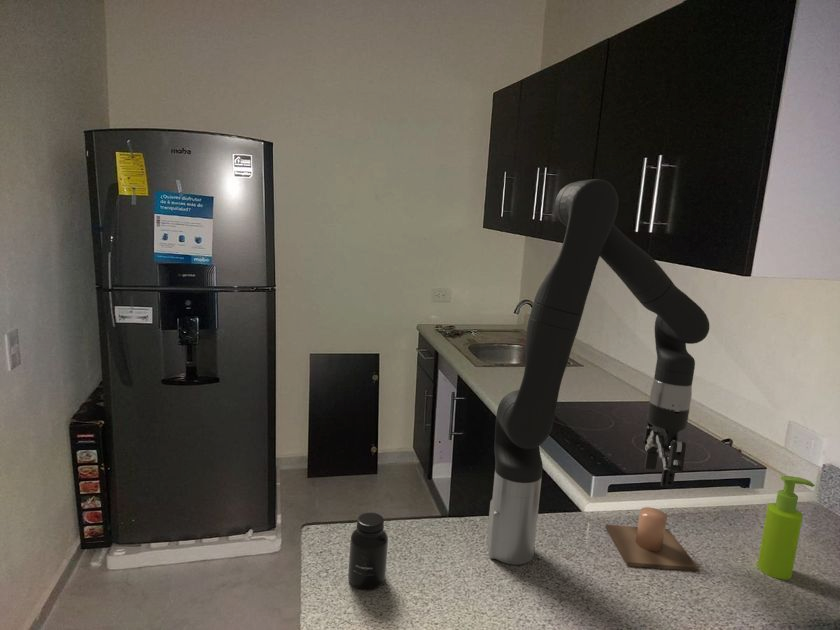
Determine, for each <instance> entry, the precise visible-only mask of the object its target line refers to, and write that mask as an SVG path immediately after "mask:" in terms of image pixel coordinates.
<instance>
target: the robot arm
mask: <svg viewBox="0 0 840 630" xmlns="http://www.w3.org/2000/svg"><path fill="white" fill-rule="evenodd" d="M554 203H555V204H554V208H555V213H556V216H557V219H558V220H559V221H560V222H561V224H562V225H564V226H565V227H566V229H565V236H564V238H563V242H562V245H561V248H560V251H559V254H558V256H557V258H556V260H555V261H554V263H553V264H552V266H551V268H550V270H549V271H548V273H547V274H546V276H545V277H544V279H543V281H542V282H541V284H540V286H539V287H538V290H537V292H536V293H535V297H534V299H533V303H532V307H531V311H530V314H529V318H528V321H527V326H526V335H525V357H524V358H525V362H524V365H525V366H524V370H523V371H524V372H523V376H522V381H521V383H520V386H519V389H518V390H513V391H511V392H508V393H507V394H506V395H504V397H502V399H501V400H500V401H499V403H498V407H497V410H496V417H495V428H494V429H495V430H494V444H493V445H494V446H493V447H494V451H493V452H494V459H495V460H494V463H495V466H494V478H493V488H492V498H491V500H490V502H489V503H490V504H489V512H488V525H487V536H486V544H487V550H488V556H489V558H490V559H492V560H493V559H494V560H497V561H499V562H501V563H504V564H508V565H513V566H514V565H524V564H528V563H529V562H531V561H532V560H533V559H534V554H535V549H536V548H535V547H536V546H535V545H536V537H537V536H536V535H537V527H538V526H537V525H538V524H537V523H538V516H539V506H540V505H539V504H540V496H541V486H542V479H543V478H542V477H543V469H544V468H543V466H544V464H543V459H542V456H541V450H540V446H541V445H542V444H544V442H545V441H546V440H547V439H548V437H549V436H550V434H551V432H552V429H553V426H554V420H555V415H556V409H557V405H558V400H559V399H558V398H559V393H560V389H561V384H562V380H563V377H564V373H565V371H566V368H567V364H568V361H569V359H570V355H571V352H572V349H573V346H574V342H575V339H576V336H577V334H578V330H579V327H580V323H581V320H582V317H583V314H584V310H585V305H586V303H587V302H586V301H587V298H588V294H589V293H590V289H591V285H592V283H593V279H594V275H595V272H596V268H597V265H598V262H599V259H600V258H601V259H602V260H603V262H605V264H606V265H607V266H608V267H609V268H610V269H611V270H612V271H613V272H614V273H615V275H617V277H618V278H619V279H620V280H621V281H622V283H623V284H624V285H625V286H626V287H627V288H628V290H629V291H630V293H632V295H633V296H634V297H635V298H636V299H637V301H638V302H639V303H640V304H641V305H642V306H643V307H644V308H645V309H647V310H648V311H650V312H652V313H654V314H655V315H656V317H655V322H654V342H655V351H656V364H655V370H654V376H653V382H652V385H651V388H650V394H649V400H648V408H647V409H648V410H647V414H646V419H645V426H644V431H643V437H642V445H644V446H645V448H644V449H645V452H646V453H645V460H644V468H645V469H647V470H655V469H657V463H658V455H659V458H660V459H661V460H662V465H663V467H662V473H661V478H660V486H661V487H662V488H664V489H672V488H674V482H675V476H676V475H675V474H676V472H680V473H683V471H684V463H685V457H686V456H685V455H686V449H687V448H686V447H687V444H686V443H687V442H685V441H681V440H679V432H681V431H683V430H686V429H687V428H688V427H687V426H688V422H689V414H690V408H691V401H692V394H693V393H692V391H693V390H692V389H693V388H692V387H693V380H694V373H695V367H696V361H695V358H694V357H693V356H692V355H691V354H690V353H689V351H688V349H687V345H688V344H689V345H694V344H698V343H700V342H702V341H703V340H705V339H706V338H707V337H708V334H709V331H710V320H709V318H708V315H707V314H706V312H705V311H704V310H703V309H702V307H701V306H700V305H698V303H696V302H695V301H694V300H693V299H692V298H691V297H689V296H688V295H687V294H686V293H685V292H683V291H682V290H681V289H680V288H678V287H677V285H676V284H674V282H673V281H672V279H671V278H670V277H669V276H668V273H666V272H665V270H663V268H662V267H661V266H660V264H659V263H657V261H655V259H654V258H653V257H652V256H651V255H650V254H648V253H647V252H646V251H645V250H643V249H642V248H641V247H640V246H639V245H637V244H635V243H634V241H632V240H631V239H630V238H628V237H627V236H626V235H625V234H624V233H623V232H622V231H621V229H620V228H618V227H617V226H616V225H615V220H616V218H617V214H618V211H619V196H618V193H617V191H616V188H615V187H614V185H612V184H611V182H609V181H607V180H606V179H599V178H595V179H585V180H579V181H574V182H571V183H568V184H566V185H565V186H564V187H563V188H561V189H560V190H559V192H558V194H557V195H556V198H555V202H554Z"/></svg>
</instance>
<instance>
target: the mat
mask: <svg viewBox="0 0 840 630" xmlns="http://www.w3.org/2000/svg"><path fill="white" fill-rule="evenodd" d="M605 529H606V532H607V534H608V535H609V536H610V537H609V538H611V540H612V542H613V543H614V546H615V547H616V549H617V551H618V552H619V554H620V555H621V558H622V560H623V561H624V563H625V565H626V566H627V567H639V568H652V569H665V570H667V569H668V570H679V571H680V570H681V571H692V572H698V571H699V566H698V565H697V564H696V562H695V561H694V560H693V559H692V558H691V557H690V555H689V554H688V553H687V551H686V550H685V549H684V547H683V546H682V545H681V543H680V542H679V541H678V540H677V538H676V536H674V534H673V533H672V532H671V531H670V529H669V528H665V532H664V539H663V545H662V549H661V550H660V551H649V550H646V549H644V548H642V547H640V546H639V545H638V544H637V543H636V535H637V529H638V526H629V525H628V526H627V525H618V524H617V525H615V524H606V525H605Z"/></svg>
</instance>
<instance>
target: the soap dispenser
mask: <svg viewBox="0 0 840 630" xmlns="http://www.w3.org/2000/svg"><path fill="white" fill-rule="evenodd" d="M780 480H781V481H782V482H783V483H784V485H783V489H781V490H778V491H777V494H776V500H775V503H774V502H773V503H768V504H767V508H766V515H765V520H764V526H763V531H762V536H761V542H760V548H759V554H758V561H757V568H758V567H759V568H758V569H759V570H760V571H761V572H762V573H764V574H766V575H768V576H769V577H772V578H775V579H778V580H789V579H791V578H792V576H793V571H794V565H795V561H796V555H797V550H798V544H799V538H800V533H801V528H802V527H801V526H802V522H803V518H804V517H803V513H802V512H801V511H799V510H798V509H797V506H798V500H799V499H798V498H799V497H798V496H799V495H798V494H796V493H795V486H796V484H797V485H804V486H808V487H812V488H813V487H815V486H816V485H815V484H814V483H813V482H812V481H811V480H809V479H805V478H803V477H798V476H789V475H788V476H787V475H780Z"/></svg>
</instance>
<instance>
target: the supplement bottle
mask: <svg viewBox="0 0 840 630" xmlns="http://www.w3.org/2000/svg"><path fill="white" fill-rule="evenodd" d="M384 521H385V520H384V517H383V516H382V515H381V514H379V513H376V512H365V513H362V514H360V515H359V516H358V517H357V520H356V522H357V523H356V529H354V530H353V532H352V533H351V535H350V539H349V540H350V541H349V543H350V544H349V558H348V573H347V575H348V577H347V578H348V581H349V583H350V584H351V585H352V586H353V587H354V588H355V589H359V590H363V591H370V590H374V589H375V590H376V589H378V588H379V587H381V586H382V585H383V584H384V582H385V580H386V571H387V562H388V561H387V559H388V557H387V556H388V547H389V546H388V544H389V536H388V533H387V532H386V530H384V528H385V525H384V524H385V522H384Z"/></svg>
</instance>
